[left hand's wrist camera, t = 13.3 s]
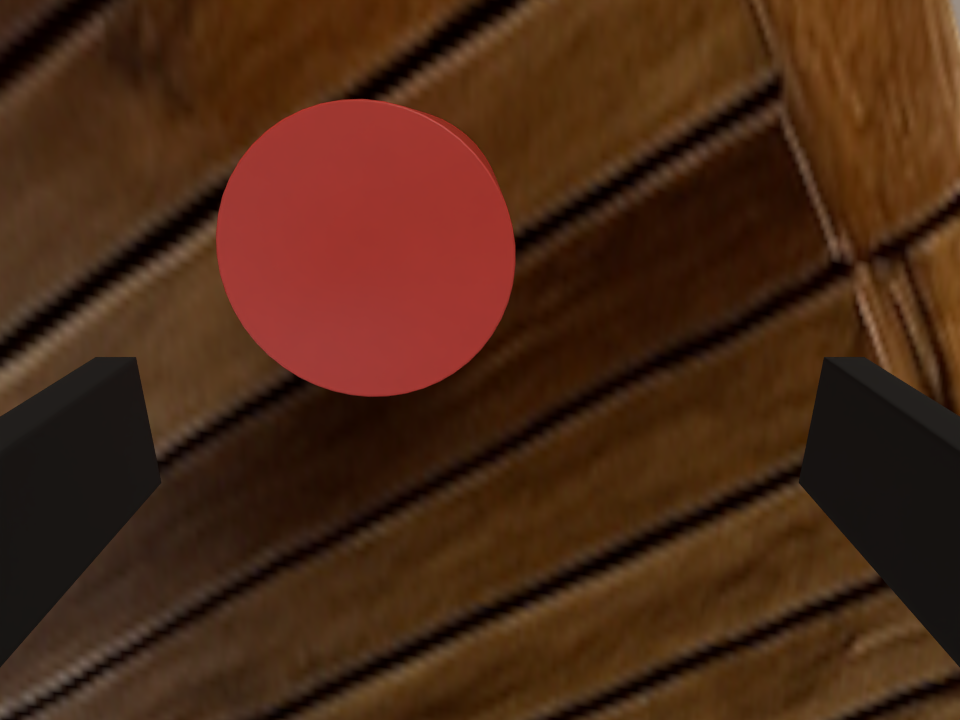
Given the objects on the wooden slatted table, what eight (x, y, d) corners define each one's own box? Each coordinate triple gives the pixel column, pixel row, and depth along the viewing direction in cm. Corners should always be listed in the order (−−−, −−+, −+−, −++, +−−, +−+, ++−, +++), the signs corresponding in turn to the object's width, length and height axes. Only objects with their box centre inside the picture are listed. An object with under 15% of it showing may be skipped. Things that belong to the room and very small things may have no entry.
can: (309, 307, 29) (230, 393, 19) (298, 105, 26) (198, 92, 17) (497, 314, 29) (507, 401, 20) (507, 113, 26) (524, 105, 17)
